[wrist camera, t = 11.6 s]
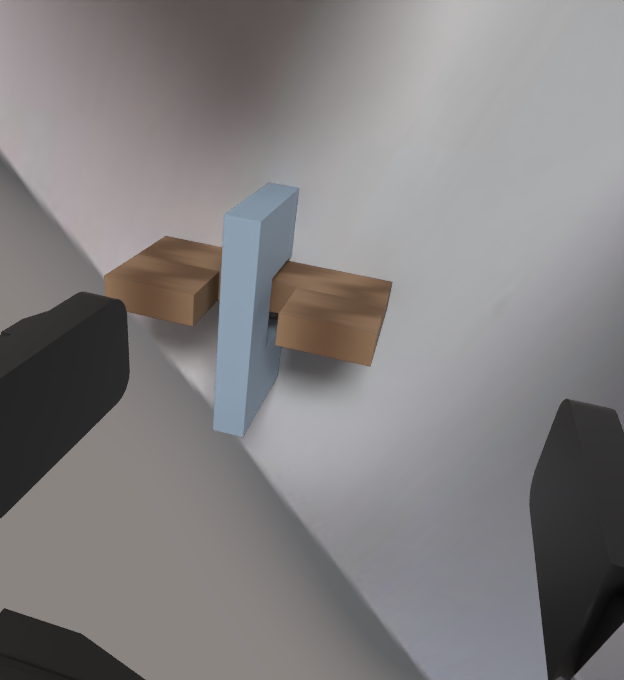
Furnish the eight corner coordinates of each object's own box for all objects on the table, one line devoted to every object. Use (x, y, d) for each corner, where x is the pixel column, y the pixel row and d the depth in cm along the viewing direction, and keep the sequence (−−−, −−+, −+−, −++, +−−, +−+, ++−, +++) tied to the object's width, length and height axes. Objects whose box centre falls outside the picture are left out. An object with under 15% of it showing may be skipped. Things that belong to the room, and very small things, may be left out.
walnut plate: (392, 282, 38) (376, 334, 31) (386, 309, 39) (370, 366, 32) (165, 236, 41) (104, 275, 34) (165, 262, 42) (105, 306, 35)
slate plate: (268, 182, 37) (224, 214, 30) (299, 188, 37) (261, 221, 30) (252, 368, 44) (212, 429, 37) (278, 374, 44) (242, 437, 37)
